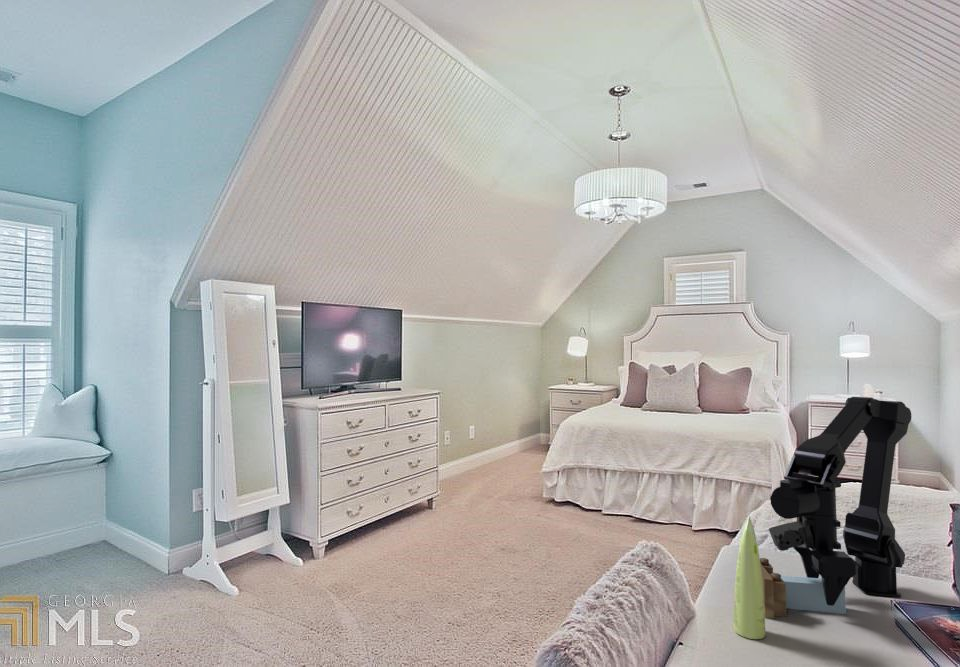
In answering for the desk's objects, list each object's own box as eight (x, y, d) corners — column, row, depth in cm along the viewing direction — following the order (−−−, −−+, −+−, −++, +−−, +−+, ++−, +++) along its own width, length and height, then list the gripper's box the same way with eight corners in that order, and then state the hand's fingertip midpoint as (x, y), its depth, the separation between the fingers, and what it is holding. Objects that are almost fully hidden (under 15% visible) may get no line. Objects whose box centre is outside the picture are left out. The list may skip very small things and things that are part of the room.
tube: (775, 640, 93) (772, 522, 94) (749, 643, 92) (747, 524, 93) (751, 624, 99) (749, 513, 100) (726, 627, 98) (725, 515, 99)
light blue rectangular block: (838, 606, 107) (837, 578, 107) (845, 613, 103) (845, 585, 104) (764, 599, 109) (764, 572, 110) (769, 606, 106) (768, 579, 107)
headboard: (767, 589, 114) (766, 554, 115) (788, 620, 101) (787, 581, 101) (746, 587, 115) (746, 553, 116) (765, 618, 102) (764, 579, 102)
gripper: (760, 497, 118) (761, 572, 117) (787, 522, 99) (789, 611, 99) (818, 501, 115) (820, 577, 114) (857, 527, 97) (860, 618, 96)
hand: (820, 594), depth 106 cm, fingers open, 9 cm apart
